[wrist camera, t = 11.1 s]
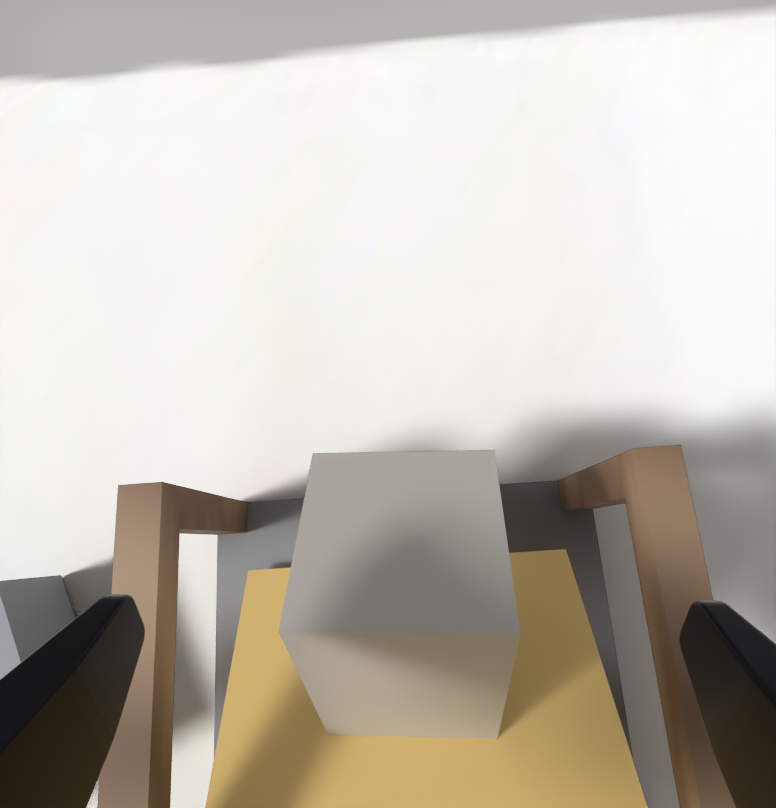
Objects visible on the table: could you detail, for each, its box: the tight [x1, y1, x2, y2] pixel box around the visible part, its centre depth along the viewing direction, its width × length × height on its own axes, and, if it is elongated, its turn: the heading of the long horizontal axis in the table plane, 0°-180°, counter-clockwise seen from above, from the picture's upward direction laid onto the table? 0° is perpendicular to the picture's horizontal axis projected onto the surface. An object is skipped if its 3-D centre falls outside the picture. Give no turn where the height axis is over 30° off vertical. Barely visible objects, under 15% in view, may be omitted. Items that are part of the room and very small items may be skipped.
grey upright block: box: [278, 450, 521, 739], centre depth 15 cm, size 5×5×7 cm
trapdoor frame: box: [97, 445, 736, 808], centre depth 16 cm, size 14×15×8 cm
